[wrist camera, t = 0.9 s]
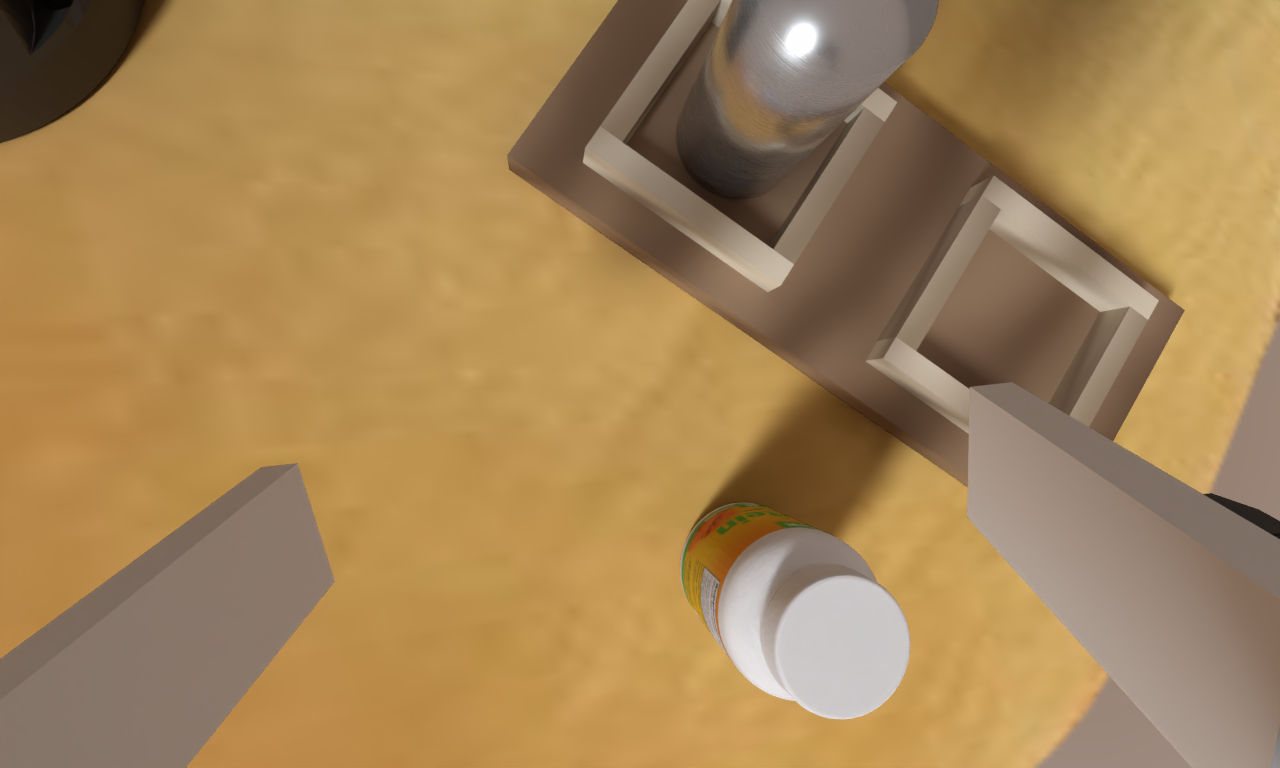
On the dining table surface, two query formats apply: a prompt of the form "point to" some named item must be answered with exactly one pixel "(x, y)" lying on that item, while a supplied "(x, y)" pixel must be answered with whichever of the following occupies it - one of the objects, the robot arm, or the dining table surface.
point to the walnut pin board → (851, 245)
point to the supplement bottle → (795, 610)
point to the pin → (788, 84)
